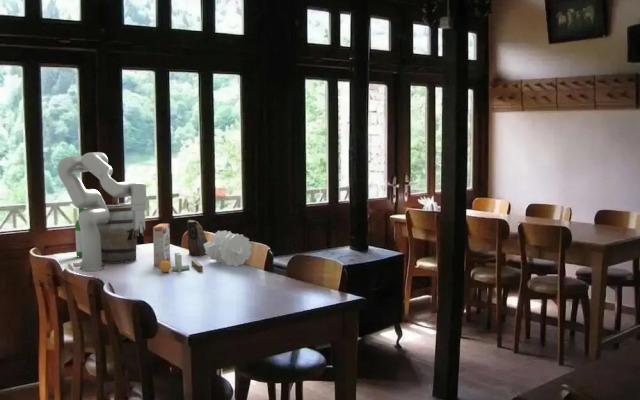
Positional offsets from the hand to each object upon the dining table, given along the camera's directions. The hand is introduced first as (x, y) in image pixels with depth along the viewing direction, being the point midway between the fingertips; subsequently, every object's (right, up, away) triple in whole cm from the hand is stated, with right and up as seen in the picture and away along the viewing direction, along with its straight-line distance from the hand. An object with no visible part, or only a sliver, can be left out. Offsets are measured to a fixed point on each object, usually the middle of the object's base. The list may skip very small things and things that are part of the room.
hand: (140, 243), depth 344 cm
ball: (+12, -12, +3) cm, 17 cm away
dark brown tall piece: (+20, -10, +52) cm, 57 cm away
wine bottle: (-45, -11, +50) cm, 68 cm away
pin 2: (+18, -14, +6) cm, 24 cm away
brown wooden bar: (+26, -14, +12) cm, 32 cm away
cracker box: (+5, -13, +27) cm, 30 cm away
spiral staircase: (+41, -13, +23) cm, 49 cm away
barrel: (-23, -11, +34) cm, 43 cm away
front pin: (+14, -13, +7) cm, 21 cm away
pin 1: (+16, -14, +11) cm, 24 cm away
